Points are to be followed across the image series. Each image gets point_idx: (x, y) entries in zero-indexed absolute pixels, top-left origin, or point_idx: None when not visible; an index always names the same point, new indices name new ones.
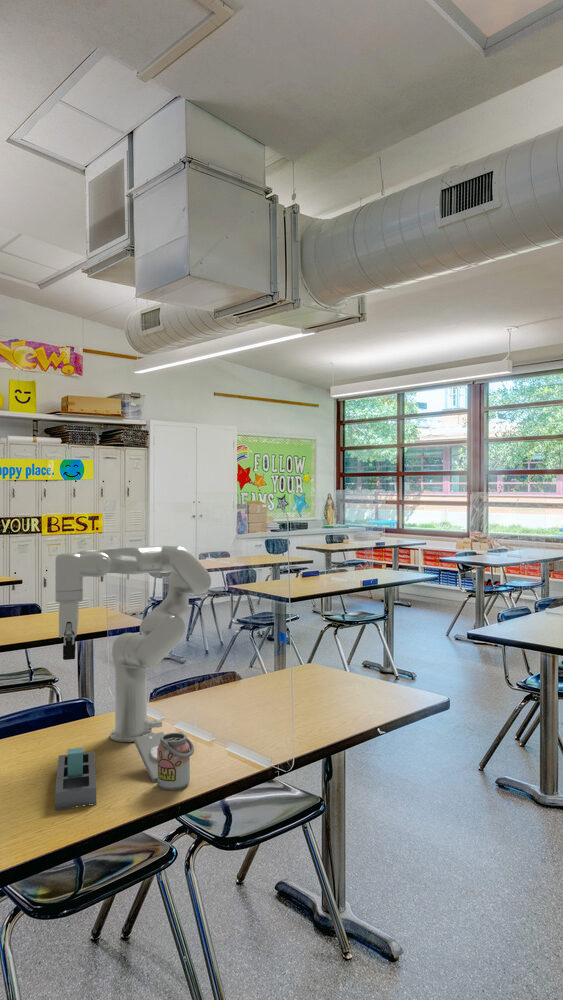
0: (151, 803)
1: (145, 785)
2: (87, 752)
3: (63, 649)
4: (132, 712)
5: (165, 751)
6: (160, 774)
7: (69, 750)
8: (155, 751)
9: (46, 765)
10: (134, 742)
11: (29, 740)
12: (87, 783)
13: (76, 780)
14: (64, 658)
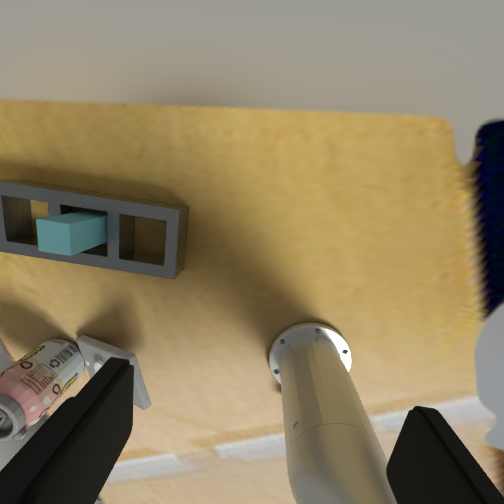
0: (9, 314)
1: (73, 322)
2: (173, 266)
3: (36, 444)
4: (282, 395)
5: None
6: (31, 351)
7: (60, 226)
8: None
9: (226, 187)
10: (131, 353)
11: (404, 166)
12: None
13: None
14: (106, 369)
